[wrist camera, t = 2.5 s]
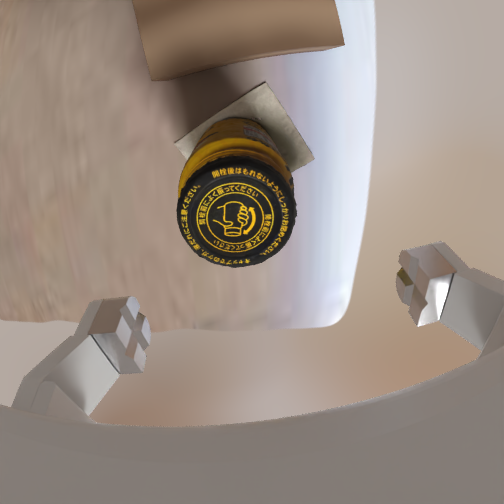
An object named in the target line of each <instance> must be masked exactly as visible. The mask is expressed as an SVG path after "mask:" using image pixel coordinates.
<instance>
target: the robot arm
mask: <svg viewBox="0 0 504 504" xmlns="http://www.w3.org/2000/svg"><path fill="white" fill-rule="evenodd" d="M399 263H400V264H401V266H402V268H401V269H400V270H399V272H398V273H397V278H396V287H397V292H398V295H399V297H400V299H401V301H402V302H403V303H405V304H407V305H408V306H410V307H409V314H410V316H411V317H412V319H413V321H414V322H415V324H416V325H417V327H418V326H422V325H426V324H429V323H433V322H436V321H439V320H440V322H441V323H442V324H444V325H445V326H447V327H448V328H450V329H451V330H453V331H454V332H455V333H457V334H458V335H460V336H461V337H463V338H464V339H466V340H467V341H468V342H470V343H471V344H473V345H474V346H475V347H477V348H478V349H480V350H481V352H480V354H479V356H478V358H477V359H476V360H474V361H472V362H470V363H468V364H465V365H463V366H461V367H459V368H456V369H454V370H452V371H449V372H447V373H444V374H442V375H439V376H437V377H434V378H432V379H429V380H426V381H424V382H421V383H418V384H415V385H413V386H410V387H407V388H404V389H401V390H398V391H395V392H392V393H389V394H385V395H382V396H378V397H375V398H372V399H368V400H365V401H361V402H357V403H353V404H349V405H345V406H341V407H336V408H332V409H328V410H323V411H318V412H313V413H308V414H302V415H297V416H291V417H285V418H279V419H271V420H264V421H256V422H247V423H237V424H226V425H211V426H185V427H156V426H130V425H115V424H104V423H96V422H95V421H94V420H93V419H91V418H90V417H89V415H90V414H91V412H92V411H93V410H94V408H95V407H96V406H97V404H98V403H99V402H100V400H101V399H102V398H103V397H104V395H105V394H106V393H107V391H108V390H109V389H110V387H111V386H112V385H113V384H114V382H115V381H116V380H117V378H118V377H119V376H120V375H119V374H132V373H143V370H144V365H145V361H146V357H147V356H146V354H145V353H144V350H145V349H146V348H147V347H148V346H149V344H150V339H151V333H150V326H149V323H148V321H147V319H146V317H145V316H144V315H142V314H141V313H139V312H138V311H139V307H140V305H139V303H138V302H137V300H136V298H135V297H133V296H128V297H119V298H110V299H101V300H94V301H92V302H90V303H89V305H88V307H87V309H86V311H85V313H84V315H83V317H82V319H81V321H80V323H79V325H78V328H77V330H76V332H75V334H74V336H70V337H69V338H68V339H66V340H65V341H64V342H63V343H62V344H60V345H59V346H58V347H57V348H56V349H55V350H54V351H52V352H51V353H50V354H49V355H48V356H47V357H46V358H45V359H44V360H42V361H41V362H40V363H39V364H38V365H37V366H36V367H35V368H34V369H33V370H31V371H30V372H29V373H28V374H27V375H26V376H25V377H24V378H23V380H22V382H21V384H20V387H19V389H18V392H17V394H16V397H15V399H14V401H13V404H12V406H11V407H8V406H4V405H0V504H504V281H503V280H501V279H499V278H496V277H494V276H492V275H489V274H487V273H485V272H482V271H480V270H478V269H475V268H471V269H470V268H469V267H468V266H467V265H466V264H465V263H464V262H463V261H462V260H461V259H460V258H459V257H458V256H457V255H456V254H455V252H453V250H452V249H451V248H450V247H449V246H448V245H447V244H446V243H444V242H441V241H439V242H435V243H431V244H428V245H425V246H420V247H415V248H411V249H406V250H402V251H401V253H400V255H399Z"/></svg>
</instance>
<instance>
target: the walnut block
mask: <svg viewBox="0 0 504 504" xmlns="http://www.w3.org/2000/svg"><path fill="white" fill-rule="evenodd" d="M132 1H133V6H134V10H135V15H136V19H137V24H138V28H139V32H140V36H141V40H142V45H143V49H144V53H145V57H146V61H147V64H148V68H149V72H150V76H151V80H152V81H168V80H171V79H174V78H178V77H181V76H184V75H188V74H191V73H195V72H199V71H203V70H207V69H211V68H215V67H219V66H223V65H228V64H233V63H237V62H242V61H248V60H253V59H259V58H265V57H271V56H278V55H286V54H294V53H303V52H314V51H324V50H328V49H332V48H336V47H339V46H343V45H345V44H344V39H343V34H342V29H341V25H340V20H339V16H338V12H337V8H336V4H335V0H132Z"/></svg>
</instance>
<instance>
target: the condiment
mask: <svg viewBox="0 0 504 504" xmlns="http://www.w3.org/2000/svg"><path fill="white" fill-rule="evenodd" d="M252 118H255V119H252ZM257 118H261V120H258V119H257ZM175 146H176V147H177V148H178V149H179V151H180V152H181V153H182V154H183V156H184V157H185V158H186V159H187V162H186V163H185V166H184V169H183V171H182V173H181V176H180V181H179V187H178V204H177V221H178V225H179V229H180V231H181V234H182V236H183V238H184V239H185V241H186V242H187V244H188V245H189V246H190V247H191V249H192V250H193V251H194V252H195V253H196V254H198V256H199V257H202V258H205V259H206V260H208V261H209V262H211V263H214V264H218V265H222V266H229V267H232V268H237V267H245V266H250V265H256V264H259V263H262V262H264V261H265V260H267V259H268V258H270V257H272V256H273V255H275V254H276V253H278V252H279V251H280V250H281V249H282V248H283V246H285V244H286V243H287V241H288V240H289V238H290V236H291V233H292V229H293V227H294V225H295V218H296V216H297V210H296V202H295V199H294V184H293V177H292V175H291V172H293V171H295V170H296V169H298V168H300V167H302V166H304V165H306V164H307V163H309V162H311V161H312V160H314V157H313V155H312V153H311V152H310V150H309V149H308V147H307V145H306V144H305V142H304V140H303V139H302V137H301V136H300V134H299V132H298V131H297V129H296V128H295V126H294V124H293V123H292V121H291V120H290V118H289V116H288V115H287V113H286V112H285V110H284V109H283V107H282V106H281V104H280V103H279V101H278V100H277V98H276V97H275V95H274V94H273V92H272V91H271V89H270V88H269V86H268V85H267V83H264V84H262V85H261V86H259V87H257V88H256V89H254V90H252V91H251V92H249V93H247V94H246V95H244V96H243V97H241V98H240V99H238V100H237V101H235V102H233V103H232V104H230V105H229V106H227V107H226V108H224V109H223V110H221V111H220V112H218V113H217V114H215V115H214V116H212V117H211V118H209V119H208V120H206V121H205V122H204V123H202V124H201V125H199V126H198V127H197V128H195V129H194V130H192V131H191V132H190V133H188V134H187V135H186V136H184V137H183V138H182V139H180V140H179V141H178V142H176V143H175Z"/></svg>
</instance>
